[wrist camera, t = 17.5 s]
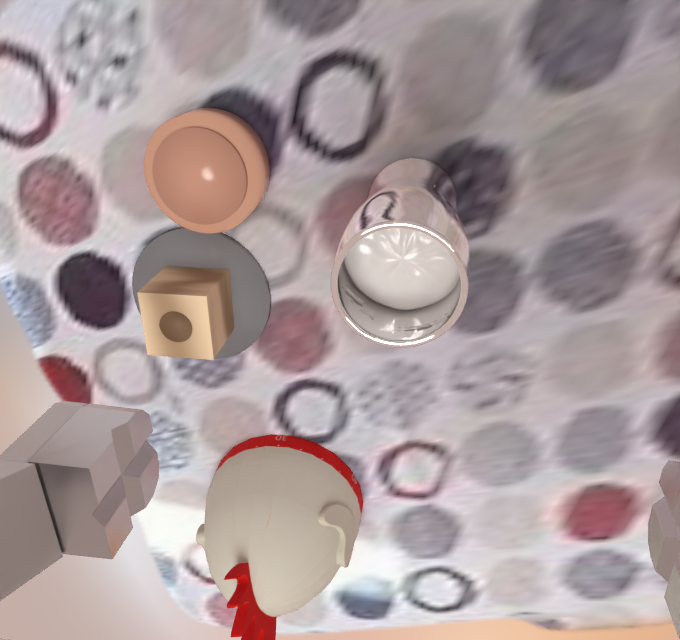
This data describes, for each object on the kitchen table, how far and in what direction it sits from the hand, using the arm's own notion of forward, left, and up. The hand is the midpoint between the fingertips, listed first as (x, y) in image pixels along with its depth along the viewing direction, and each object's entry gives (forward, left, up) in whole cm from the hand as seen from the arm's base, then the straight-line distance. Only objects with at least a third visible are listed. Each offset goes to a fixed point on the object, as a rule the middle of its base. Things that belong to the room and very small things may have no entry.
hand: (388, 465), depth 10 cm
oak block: (+17, +13, -33) cm, 40 cm away
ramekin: (+15, +3, -34) cm, 37 cm away
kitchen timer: (+11, +33, -34) cm, 49 cm away
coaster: (+17, +13, -34) cm, 40 cm away
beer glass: (+1, +5, -34) cm, 35 cm away
